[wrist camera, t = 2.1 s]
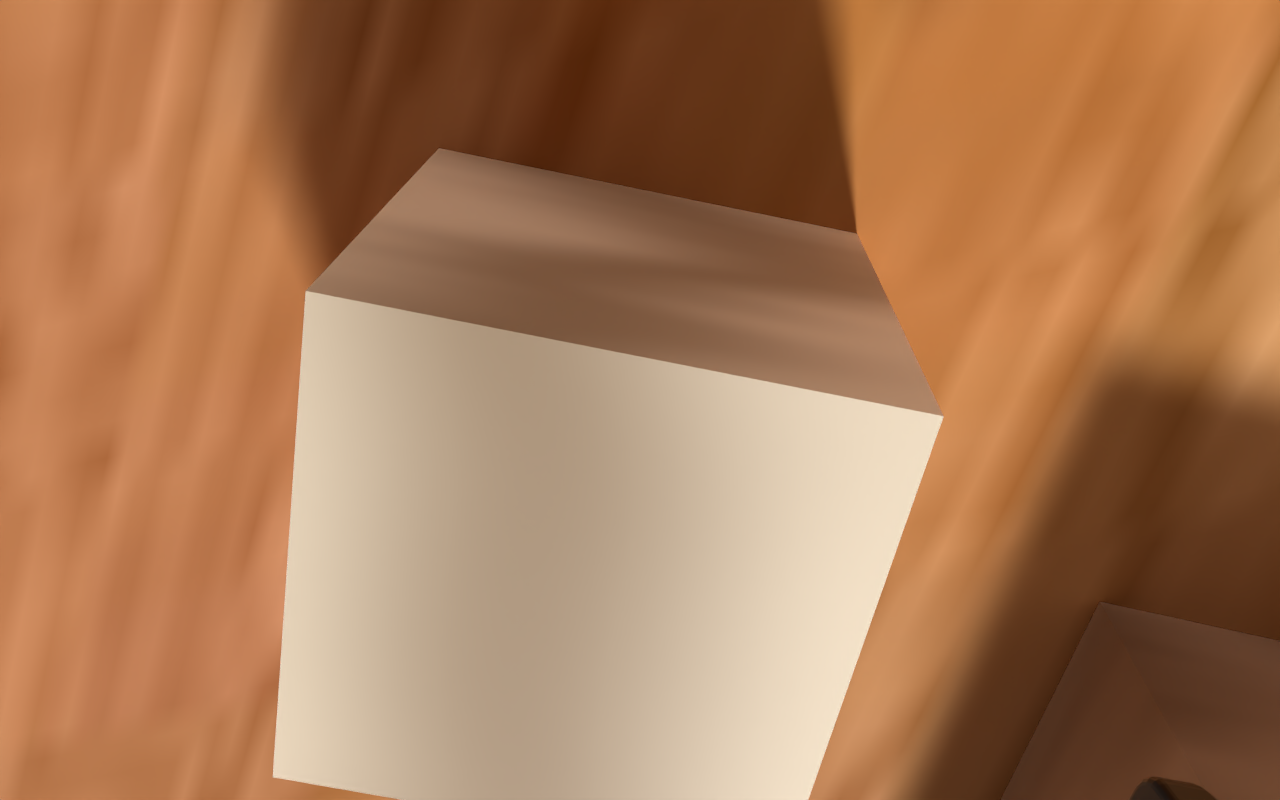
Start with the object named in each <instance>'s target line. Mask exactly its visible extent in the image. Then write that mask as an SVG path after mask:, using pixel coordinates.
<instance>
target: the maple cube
mask: <svg viewBox="0 0 1280 800" xmlns="http://www.w3.org/2000/svg"><path fill="white" fill-rule="evenodd" d="M943 417H944V416H943V414H942V412H941V410H940V408H939V405H938V403H937V401H936V399H935V397H934V395H933V393H932V391H931V389H930V387H929V384H928V382H927V380H926V378H925V376H924V374H923V372H922V370H921V368H920V365H919V363H918V361H917V359H916V357H915V355H914V353H913V351H912V349H911V346H910V344H909V342H908V340H907V338H906V336H905V334H904V332H903V330H902V328H901V325H900V323H899V321H898V319H897V317H896V315H895V313H894V311H893V309H892V306H891V304H890V302H889V300H888V298H887V296H886V294H885V292H884V290H883V287H882V285H881V283H880V281H879V279H878V277H877V275H876V273H875V271H874V268H873V266H872V264H871V262H870V260H869V258H868V256H867V254H866V252H865V250H864V247H863V245H862V243H861V241H860V239H859V237H858V235H857V233H852V232H847V231H843V230H838V229H833V228H828V227H823V226H818V225H813V224H808V223H803V222H799V221H794V220H789V219H784V218H779V217H774V216H769V215H764V214H759V213H754V212H750V211H745V210H740V209H735V208H730V207H725V206H720V205H715V204H710V203H706V202H701V201H696V200H691V199H686V198H681V197H676V196H671V195H666V194H661V193H657V192H652V191H647V190H642V189H637V188H632V187H627V186H622V185H617V184H613V183H608V182H603V181H598V180H593V179H588V178H583V177H578V176H573V175H568V174H564V173H559V172H554V171H549V170H544V169H539V168H534V167H529V166H524V165H520V164H515V163H510V162H505V161H500V160H495V159H490V158H485V157H480V156H475V155H471V154H466V153H461V152H456V151H451V150H446V149H441V148H439V149H438V150H437V151H436V152H435V153H434V154H433V155H432V156H431V157H430V158H429V159H428V160H427V161H426V162H425V164H424V165H423V166H422V167H421V168H420V169H419V170H418V171H417V172H416V173H415V174H414V175H413V176H412V177H411V179H410V180H409V181H408V182H407V183H406V184H405V185H404V186H403V187H402V188H401V189H400V190H399V191H398V192H397V194H396V195H395V196H394V197H393V198H392V199H391V200H390V201H389V202H388V203H387V204H386V205H385V206H384V208H383V209H382V210H381V211H380V212H379V213H378V214H377V215H376V216H375V217H374V218H373V219H372V220H371V221H370V223H369V224H368V225H367V226H366V227H365V228H364V229H363V230H362V231H361V232H360V233H359V234H358V235H357V236H356V238H355V239H354V240H353V241H352V242H351V243H350V244H349V245H348V246H347V247H346V248H345V249H344V250H343V251H342V253H341V254H340V255H339V256H338V257H337V258H336V259H335V260H334V261H333V262H332V263H331V264H330V265H329V266H328V268H327V269H326V270H325V271H324V272H323V273H322V274H321V275H320V276H319V277H318V278H317V279H316V280H315V281H314V283H313V284H312V285H311V286H310V287H309V288H308V289H307V290H306V294H305V309H304V324H303V339H302V353H301V368H300V383H299V398H298V412H297V427H296V442H295V457H294V472H293V486H292V501H291V516H290V531H289V546H288V560H287V575H286V590H285V605H284V619H283V634H282V649H281V664H280V679H279V693H278V708H277V723H276V738H275V752H274V767H273V777H275V778H281V779H287V780H292V781H298V782H304V783H309V784H315V785H321V786H326V787H332V788H338V789H344V790H349V791H355V792H361V793H366V794H372V795H378V796H383V797H389V798H395V799H401V800H808V799H809V796H810V793H811V790H812V787H813V785H814V782H815V779H816V776H817V773H818V770H819V768H820V765H821V762H822V759H823V756H824V753H825V751H826V748H827V745H828V742H829V739H830V736H831V734H832V731H833V728H834V725H835V722H836V719H837V717H838V714H839V711H840V708H841V705H842V702H843V700H844V697H845V694H846V691H847V688H848V685H849V683H850V680H851V677H852V674H853V671H854V668H855V666H856V663H857V660H858V657H859V654H860V651H861V649H862V646H863V643H864V640H865V637H866V635H867V632H868V629H869V626H870V623H871V620H872V618H873V615H874V612H875V609H876V606H877V603H878V601H879V598H880V595H881V592H882V589H883V586H884V584H885V581H886V578H887V575H888V572H889V569H890V567H891V564H892V561H893V558H894V555H895V552H896V550H897V547H898V544H899V541H900V538H901V535H902V533H903V530H904V527H905V524H906V521H907V518H908V516H909V513H910V510H911V507H912V504H913V502H914V499H915V496H916V493H917V490H918V487H919V485H920V482H921V479H922V476H923V473H924V470H925V468H926V465H927V462H928V459H929V456H930V453H931V451H932V448H933V445H934V442H935V439H936V436H937V434H938V431H939V428H940V425H941V422H942V419H943Z"/></svg>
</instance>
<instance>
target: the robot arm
mask: <svg viewBox="0 0 1280 800" xmlns="http://www.w3.org/2000/svg"><path fill="white" fill-rule="evenodd" d="M1129 800H1217V799H1216V798H1215V797H1214V796H1213V795H1211V794H1210V793H1209V792H1208V791H1207V790H1205V789H1204V788H1202V787H1200V786H1198V785H1196V784H1193V783H1189V782H1183V781H1178V780H1172V779H1167V778H1161V777H1147V778H1145V779H1143V780H1142V781H1141V782H1139V783H1138V784H1137V786H1136V787H1135V789H1134V790H1133V792H1132V794H1131V796H1130V798H1129Z"/></svg>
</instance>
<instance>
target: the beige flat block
mask: <svg viewBox="0 0 1280 800" xmlns="http://www.w3.org/2000/svg"><path fill="white" fill-rule="evenodd" d="M1147 777H1161V778H1167V779H1172V780H1178V781H1183V782H1189V783H1193V784H1196V785H1198V786H1200V787H1202V788H1204V789H1205V790H1207V791H1208V792H1209V793H1210V794H1211V795H1213V796H1214V797H1215V798H1216V799H1217V800H1280V641H1279V640H1274V639H1270V638H1265V637H1261V636H1256V635H1251V634H1247V633H1242V632H1238V631H1233V630H1228V629H1224V628H1219V627H1215V626H1210V625H1206V624H1201V623H1196V622H1192V621H1187V620H1183V619H1178V618H1173V617H1169V616H1164V615H1160V614H1155V613H1150V612H1146V611H1141V610H1137V609H1132V608H1128V607H1123V606H1118V605H1114V604H1109V603H1105V602H1099V604H1098V606H1097V608H1096V610H1095V612H1094V614H1093V616H1092V618H1091V620H1090V622H1089V624H1088V626H1087V628H1086V630H1085V632H1084V634H1083V636H1082V638H1081V640H1080V642H1079V644H1078V646H1077V648H1076V650H1075V652H1074V654H1073V656H1072V658H1071V660H1070V662H1069V664H1068V666H1067V668H1066V670H1065V672H1064V674H1063V676H1062V678H1061V680H1060V682H1059V684H1058V686H1057V688H1056V690H1055V692H1054V694H1053V696H1052V698H1051V700H1050V702H1049V704H1048V706H1047V708H1046V710H1045V712H1044V714H1043V716H1042V718H1041V720H1040V722H1039V724H1038V726H1037V728H1036V730H1035V732H1034V734H1033V736H1032V738H1031V740H1030V742H1029V744H1028V746H1027V748H1026V750H1025V752H1024V754H1023V756H1022V758H1021V760H1020V762H1019V764H1018V766H1017V768H1016V770H1015V772H1014V774H1013V776H1012V778H1011V780H1010V782H1009V784H1008V786H1007V788H1006V790H1005V792H1004V794H1003V796H1002V798H1001V800H1129V798H1130V796H1131V794H1132V792H1133V790H1134V789H1135V787H1136V786H1137V784H1138V783H1139V782H1141V781H1142V780H1143V779H1145V778H1147Z"/></svg>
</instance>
